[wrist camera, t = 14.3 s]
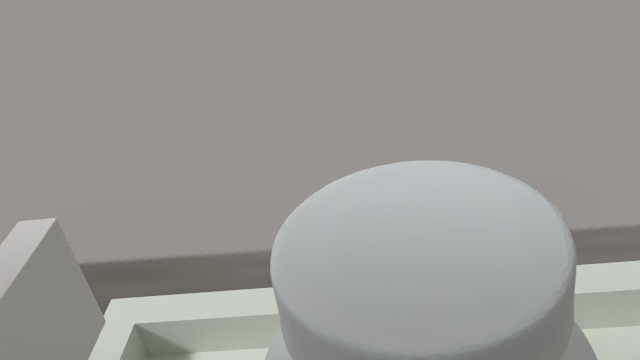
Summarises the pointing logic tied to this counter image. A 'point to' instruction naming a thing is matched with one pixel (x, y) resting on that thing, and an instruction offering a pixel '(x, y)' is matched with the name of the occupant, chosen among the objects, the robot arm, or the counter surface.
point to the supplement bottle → (426, 269)
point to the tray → (264, 321)
